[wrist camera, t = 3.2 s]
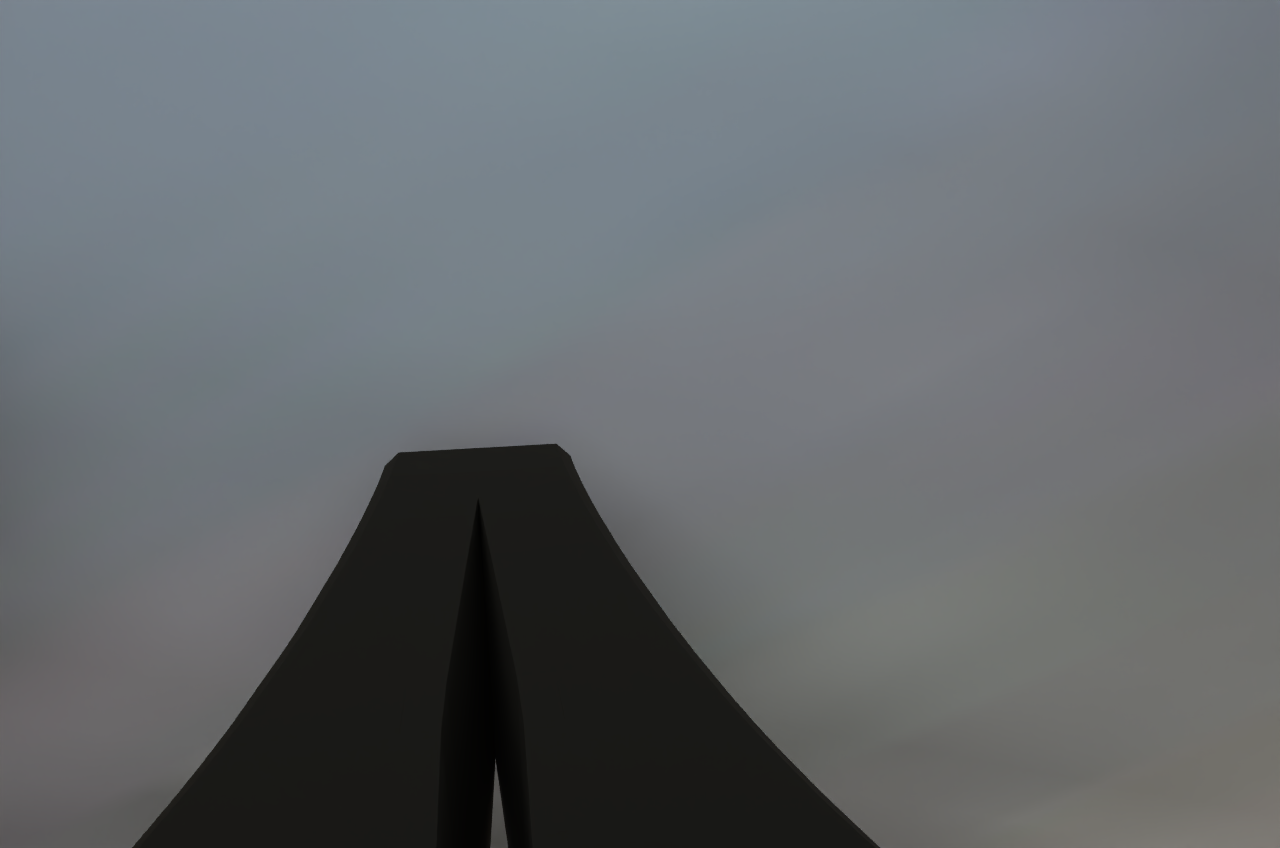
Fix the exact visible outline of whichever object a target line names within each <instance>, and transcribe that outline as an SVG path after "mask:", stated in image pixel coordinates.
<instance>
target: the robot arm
mask: <svg viewBox="0 0 1280 848" xmlns="http://www.w3.org/2000/svg"><path fill="white" fill-rule="evenodd" d="M495 758H496V765H497V772H498V779H499V786H500V793H501V800H502V807H503V814H504V821H505V828H506V835H507V841H508V848H880V847H879V846H877V845H876V844H875V843H874V842H873V841H872V840H871V839H870V838H869V837H868V836H867V835H866V834H865V833H864V832H863V831H862V830H861V829H860V828H858V827H857V826H856V825H855V824H854V823H853V822H852V821H851V820H850V819H849V818H848V817H847V816H846V815H845V814H844V813H843V812H842V811H841V810H839V809H838V808H837V807H836V806H835V805H834V804H833V803H832V802H831V801H830V800H829V799H828V798H827V797H826V796H825V795H824V794H823V793H822V792H821V791H820V790H819V789H818V788H817V787H816V786H815V785H814V784H813V783H812V782H811V781H810V780H809V779H808V778H807V777H806V776H805V775H804V774H803V773H802V772H801V771H800V770H799V769H798V768H797V767H796V766H795V765H794V764H793V763H792V762H791V761H790V760H789V759H788V758H787V757H786V756H785V755H784V754H783V753H782V752H781V751H780V750H779V749H778V748H777V746H776V745H775V744H774V743H773V742H772V741H771V740H770V739H769V738H768V737H767V736H766V735H765V733H764V732H763V731H762V730H761V729H760V728H759V727H758V726H757V725H756V724H755V723H754V721H753V720H752V719H751V718H750V717H749V716H748V715H747V714H746V712H745V711H744V710H743V709H742V708H741V707H740V706H739V704H738V703H737V702H736V701H735V700H734V699H733V698H732V697H731V695H730V694H729V693H728V692H727V691H726V689H725V688H724V687H723V686H722V684H721V683H720V682H719V681H718V680H717V678H716V677H715V676H714V675H713V674H712V672H711V671H710V670H709V669H708V668H707V666H706V665H705V664H704V663H703V662H702V660H701V659H700V658H699V657H698V655H697V654H696V653H695V652H694V651H693V649H692V648H691V647H690V645H689V644H688V643H687V642H686V640H685V639H684V638H683V636H682V635H681V634H680V632H679V631H678V630H677V629H676V627H675V626H674V625H673V623H672V622H671V621H670V619H669V618H668V617H667V615H666V614H665V612H664V611H663V610H662V608H661V607H660V605H659V604H658V603H657V601H656V600H655V598H654V597H653V596H652V594H651V593H650V591H649V590H648V589H647V587H646V586H645V584H644V583H643V582H642V580H641V579H640V577H639V576H638V575H637V573H636V572H635V570H634V569H633V567H632V566H631V564H630V563H629V561H628V560H627V558H626V557H625V555H624V554H623V552H622V551H621V549H620V548H619V546H618V545H617V543H616V541H615V540H614V538H613V536H612V535H611V533H610V532H609V530H608V528H607V527H606V525H605V523H604V522H603V520H602V518H601V517H600V515H599V513H598V512H597V510H596V508H595V506H594V504H593V503H592V501H591V499H590V497H589V495H588V493H587V492H586V490H585V488H584V486H583V484H582V482H581V480H580V477H579V475H578V473H577V471H576V469H575V467H574V464H573V462H572V459H571V456H570V455H569V454H568V453H567V452H565V451H564V450H563V449H562V448H561V447H560V446H558V445H557V444H543V445H525V446H508V447H490V448H472V449H454V450H436V451H418V452H400V453H398V454H397V455H396V456H395V457H394V458H393V459H392V460H391V461H390V462H389V463H387V464H386V465H385V467H384V470H383V473H382V475H381V478H380V480H379V483H378V485H377V487H376V490H375V492H374V494H373V496H372V498H371V501H370V503H369V505H368V507H367V509H366V511H365V513H364V515H363V517H362V519H361V521H360V523H359V525H358V527H357V529H356V531H355V533H354V534H353V536H352V538H351V540H350V542H349V544H348V545H347V547H346V549H345V551H344V553H343V555H342V556H341V558H340V560H339V562H338V564H337V565H336V567H335V569H334V570H333V572H332V574H331V575H330V577H329V579H328V580H327V582H326V584H325V585H324V587H323V589H322V590H321V592H320V593H319V595H318V597H317V598H316V600H315V602H314V603H313V605H312V607H311V608H310V610H309V612H308V613H307V615H306V617H305V618H304V620H303V622H302V623H301V625H300V626H299V628H298V630H297V631H296V633H295V634H294V636H293V637H292V639H291V640H290V642H289V644H288V645H287V647H286V648H285V650H284V651H283V652H282V654H281V655H280V657H279V658H278V659H277V661H276V662H275V664H274V665H273V667H272V668H271V669H270V671H269V672H268V674H267V675H266V677H265V678H264V679H263V681H262V682H261V684H260V685H259V687H258V688H257V689H256V691H255V692H254V694H253V695H252V697H251V698H250V699H249V701H248V702H247V704H246V705H245V706H244V708H243V709H242V711H241V712H240V714H239V715H238V716H237V718H236V719H235V721H234V722H233V724H232V725H231V726H230V728H229V729H228V730H227V732H226V733H225V734H224V736H223V737H222V738H221V740H220V741H219V742H218V743H217V745H216V746H215V747H214V749H213V750H212V751H211V753H210V754H209V755H208V756H207V758H206V759H205V760H204V762H203V763H202V764H201V765H200V767H199V768H198V769H197V771H196V772H195V773H194V774H193V776H192V777H191V778H190V779H189V780H188V782H187V783H186V784H185V785H184V787H183V788H182V789H181V790H180V792H179V793H178V794H177V795H176V797H175V798H174V799H173V800H172V801H171V802H170V804H169V805H168V806H167V807H166V808H165V810H164V811H163V812H162V813H161V814H160V816H159V817H158V818H157V819H156V820H155V821H154V823H153V824H152V825H151V826H150V827H149V829H148V830H147V831H146V832H145V833H144V834H143V836H142V837H141V838H140V839H139V840H138V842H137V843H136V844H135V845H134V846H133V847H132V848H490V843H491V826H492V809H493V792H494V775H495Z"/></svg>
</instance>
